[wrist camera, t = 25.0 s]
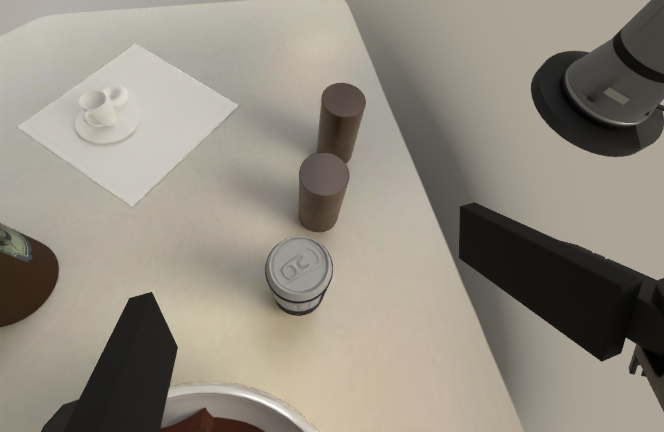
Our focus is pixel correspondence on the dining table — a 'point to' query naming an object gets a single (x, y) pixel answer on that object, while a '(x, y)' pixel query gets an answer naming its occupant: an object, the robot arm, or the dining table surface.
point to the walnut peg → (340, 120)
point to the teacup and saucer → (129, 122)
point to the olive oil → (24, 275)
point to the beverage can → (298, 274)
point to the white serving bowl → (229, 410)
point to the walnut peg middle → (321, 190)
